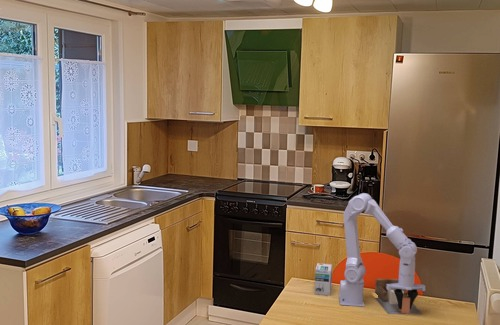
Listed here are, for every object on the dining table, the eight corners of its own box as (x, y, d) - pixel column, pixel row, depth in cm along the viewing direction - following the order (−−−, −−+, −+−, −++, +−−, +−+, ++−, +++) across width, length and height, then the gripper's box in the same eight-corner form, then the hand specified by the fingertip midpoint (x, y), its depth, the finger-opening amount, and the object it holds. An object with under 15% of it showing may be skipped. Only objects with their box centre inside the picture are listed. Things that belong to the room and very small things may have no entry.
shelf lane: (387, 314, 205) (388, 298, 204) (369, 292, 230) (370, 278, 229) (423, 314, 206) (424, 299, 205) (402, 293, 231) (402, 278, 230)
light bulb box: (330, 296, 224) (331, 270, 223) (313, 294, 225) (315, 269, 224) (331, 288, 234) (332, 263, 233) (316, 286, 235) (317, 262, 234)
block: (399, 313, 206) (400, 298, 205) (387, 299, 221) (387, 285, 220) (411, 313, 206) (412, 298, 206) (399, 299, 221) (399, 285, 220)
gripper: (391, 276, 202) (389, 311, 203) (429, 277, 202) (426, 312, 204) (385, 271, 209) (383, 305, 210) (422, 271, 209) (420, 305, 211)
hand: (404, 308), depth 207 cm, fingers closed on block, 3 cm apart
